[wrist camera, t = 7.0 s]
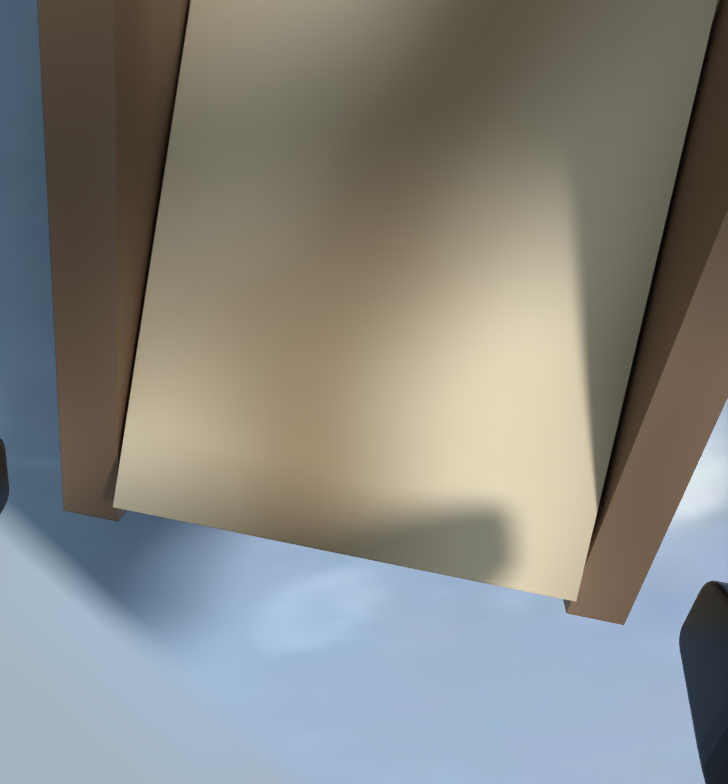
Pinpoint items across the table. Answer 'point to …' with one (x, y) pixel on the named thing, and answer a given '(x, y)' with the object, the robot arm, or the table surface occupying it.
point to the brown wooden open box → (393, 274)
